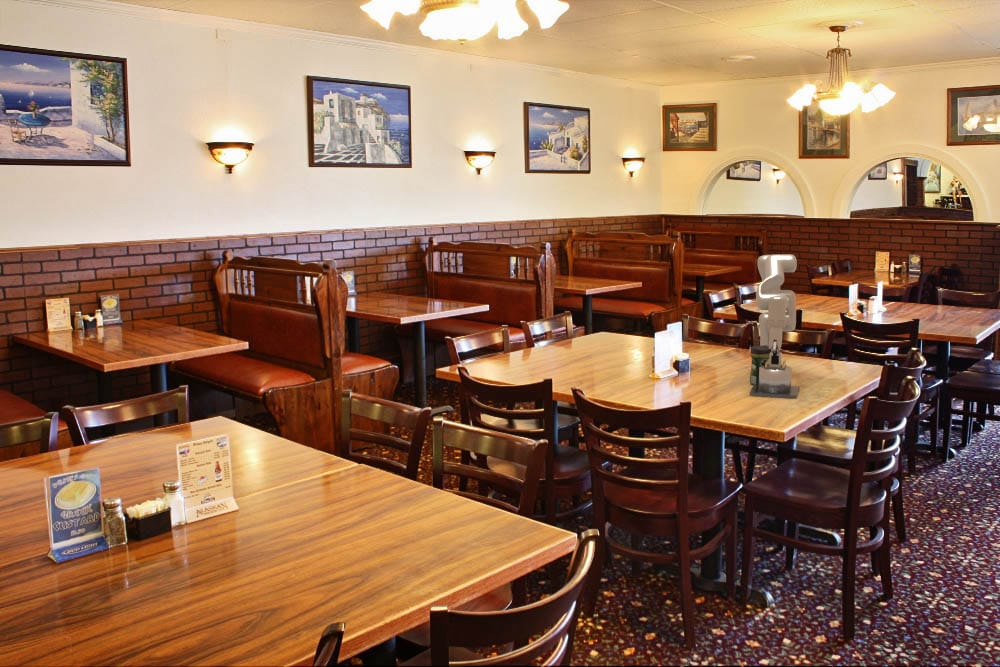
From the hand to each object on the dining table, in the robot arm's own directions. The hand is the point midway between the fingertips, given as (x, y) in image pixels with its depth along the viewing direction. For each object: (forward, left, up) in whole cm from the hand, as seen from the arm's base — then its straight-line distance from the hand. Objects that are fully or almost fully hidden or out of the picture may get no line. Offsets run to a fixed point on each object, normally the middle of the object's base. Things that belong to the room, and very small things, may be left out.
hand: (775, 362), depth 399 cm
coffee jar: (-17, -8, -14) cm, 23 cm away
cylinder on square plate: (0, 0, -14) cm, 14 cm away
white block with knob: (0, 0, -2) cm, 2 cm away
